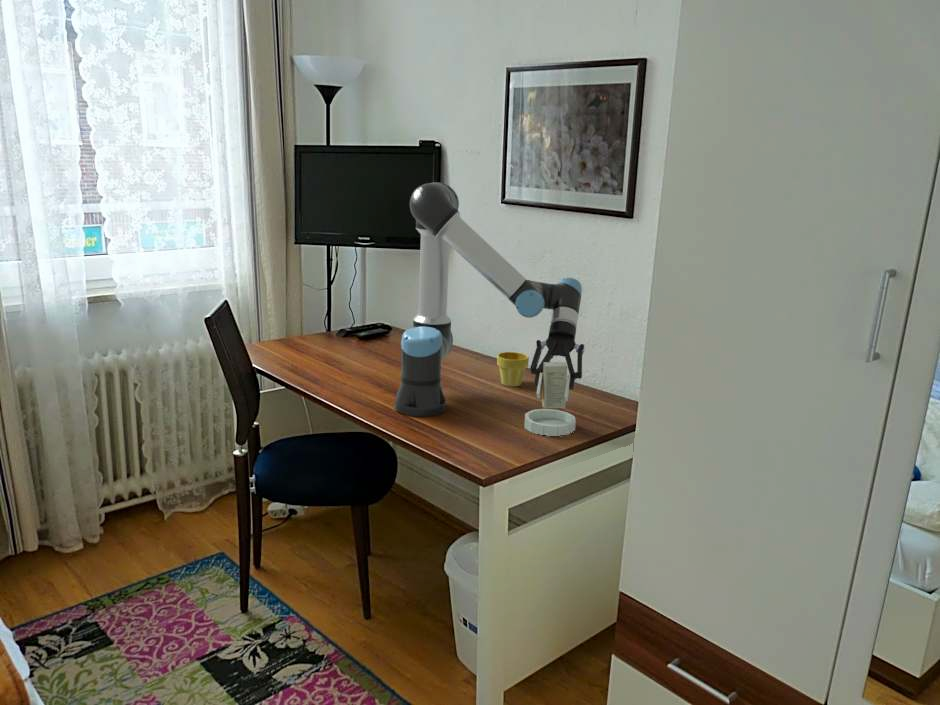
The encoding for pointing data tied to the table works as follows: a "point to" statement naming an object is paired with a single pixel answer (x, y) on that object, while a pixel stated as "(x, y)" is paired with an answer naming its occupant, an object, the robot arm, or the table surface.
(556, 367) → the skincare box
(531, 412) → the celadon dish
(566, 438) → the table surface
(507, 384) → the plant pot
